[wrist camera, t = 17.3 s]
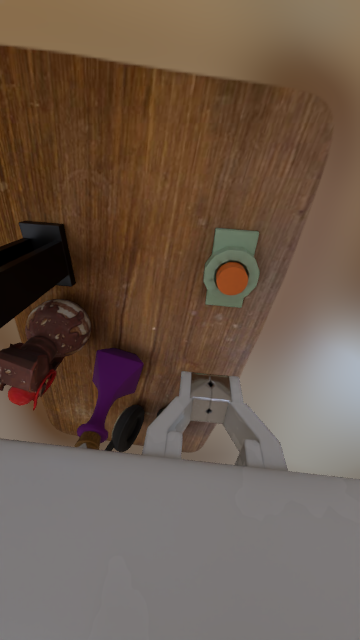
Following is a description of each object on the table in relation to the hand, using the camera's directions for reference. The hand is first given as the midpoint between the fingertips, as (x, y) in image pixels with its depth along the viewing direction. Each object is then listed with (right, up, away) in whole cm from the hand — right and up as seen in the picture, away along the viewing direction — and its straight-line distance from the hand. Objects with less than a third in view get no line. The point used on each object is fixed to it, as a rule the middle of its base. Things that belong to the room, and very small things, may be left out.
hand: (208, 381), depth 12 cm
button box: (+5, +10, +18) cm, 21 cm away
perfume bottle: (-12, -4, +28) cm, 31 cm away
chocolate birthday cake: (-18, +4, +24) cm, 31 cm away
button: (+5, +9, +16) cm, 19 cm away
